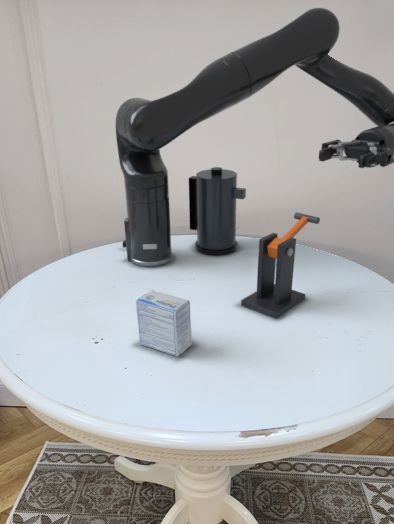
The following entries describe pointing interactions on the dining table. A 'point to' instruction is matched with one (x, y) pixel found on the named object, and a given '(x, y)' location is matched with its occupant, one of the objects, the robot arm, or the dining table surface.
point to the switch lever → (291, 232)
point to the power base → (279, 294)
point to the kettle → (214, 210)
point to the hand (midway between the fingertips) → (340, 159)
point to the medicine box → (164, 322)
